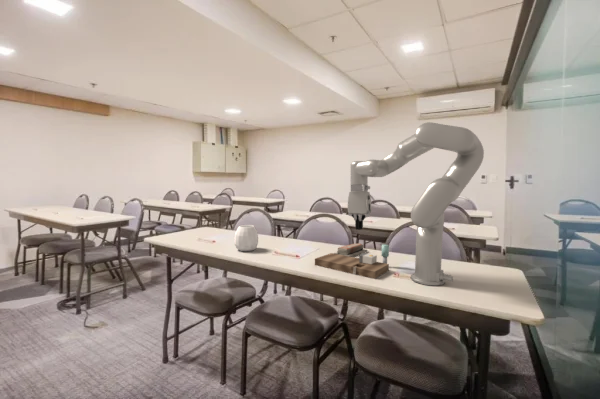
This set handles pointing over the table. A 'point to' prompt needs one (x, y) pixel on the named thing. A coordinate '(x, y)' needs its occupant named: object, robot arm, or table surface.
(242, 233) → the white faceted vase
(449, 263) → the table surface
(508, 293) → the table surface
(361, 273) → the subfloor panel
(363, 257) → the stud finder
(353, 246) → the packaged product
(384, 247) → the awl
